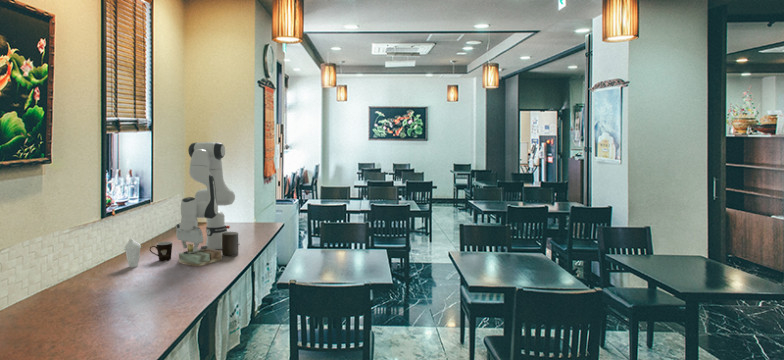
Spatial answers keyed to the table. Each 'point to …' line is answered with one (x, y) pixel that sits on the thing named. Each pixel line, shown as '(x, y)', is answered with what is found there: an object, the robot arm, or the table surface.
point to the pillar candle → (229, 244)
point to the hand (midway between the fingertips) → (190, 249)
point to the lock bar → (190, 250)
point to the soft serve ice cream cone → (132, 252)
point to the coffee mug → (163, 250)
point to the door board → (200, 257)
